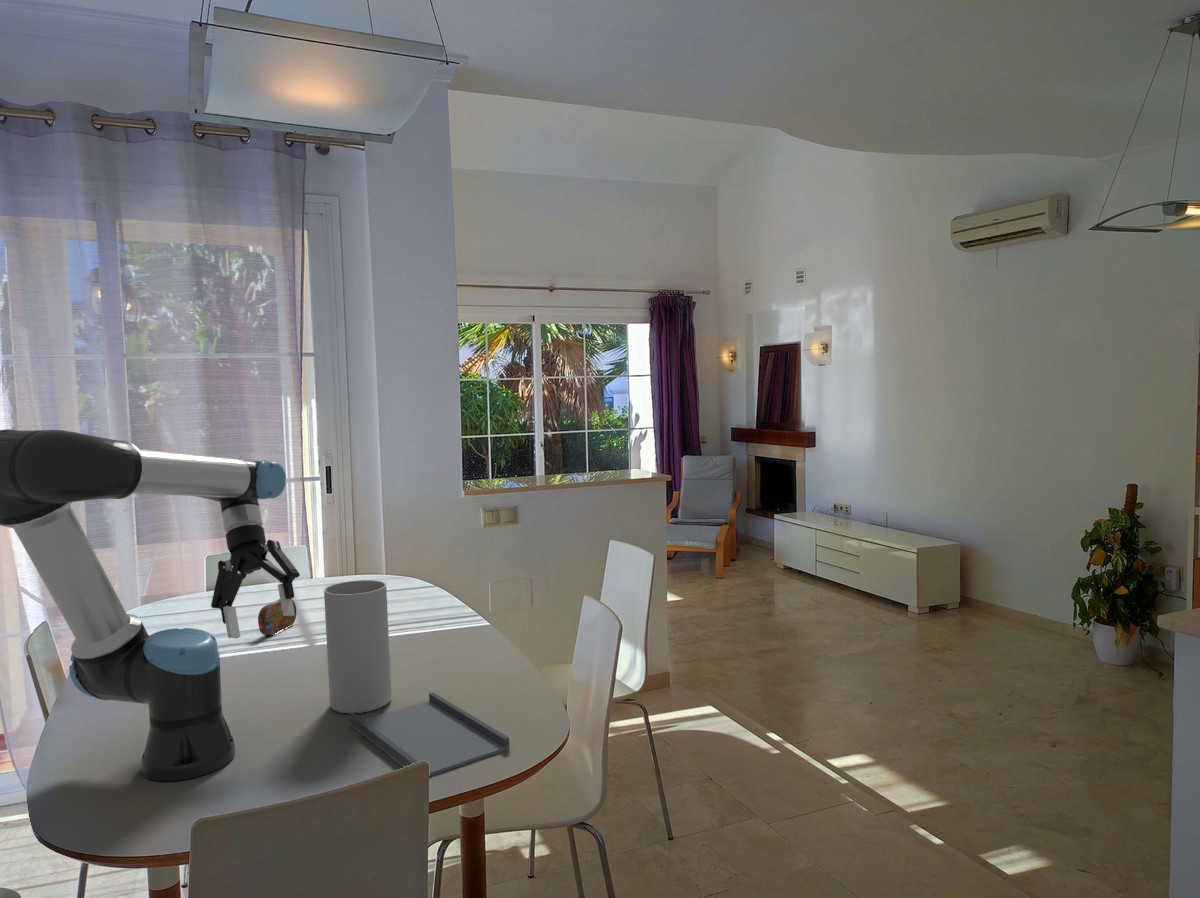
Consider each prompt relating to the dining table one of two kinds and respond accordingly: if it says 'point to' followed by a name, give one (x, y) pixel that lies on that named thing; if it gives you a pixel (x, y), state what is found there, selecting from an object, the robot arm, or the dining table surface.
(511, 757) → the dining table surface
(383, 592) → the cylinder vase
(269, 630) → the tin
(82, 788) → the dining table surface
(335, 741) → the dining table surface
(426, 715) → the mat
